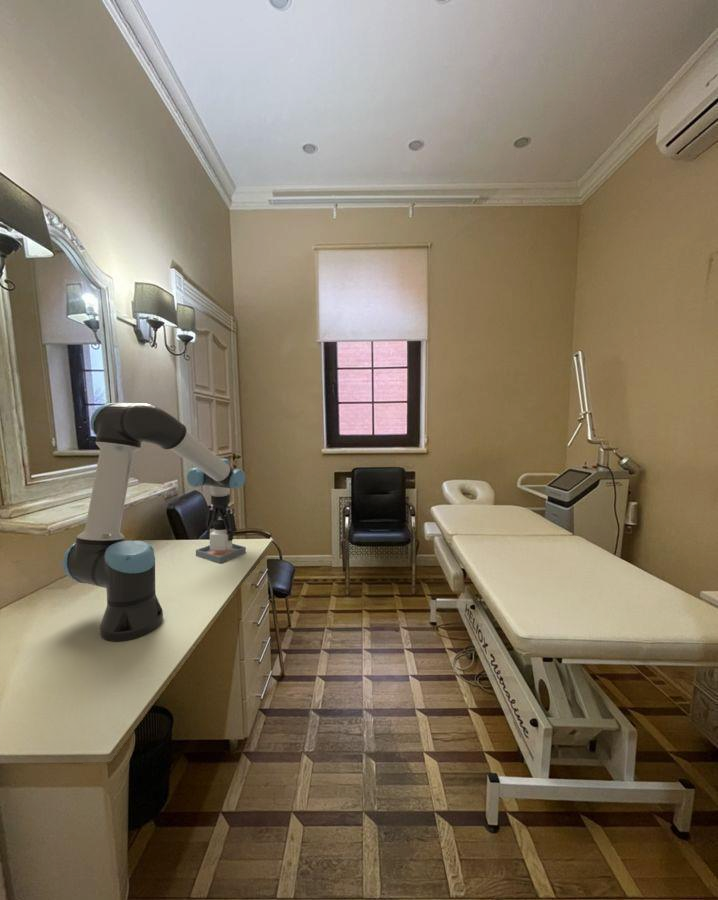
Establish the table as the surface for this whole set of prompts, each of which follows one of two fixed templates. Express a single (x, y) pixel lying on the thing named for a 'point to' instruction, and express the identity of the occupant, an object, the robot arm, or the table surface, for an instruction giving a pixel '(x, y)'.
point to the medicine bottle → (218, 536)
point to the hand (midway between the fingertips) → (221, 545)
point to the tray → (220, 553)
